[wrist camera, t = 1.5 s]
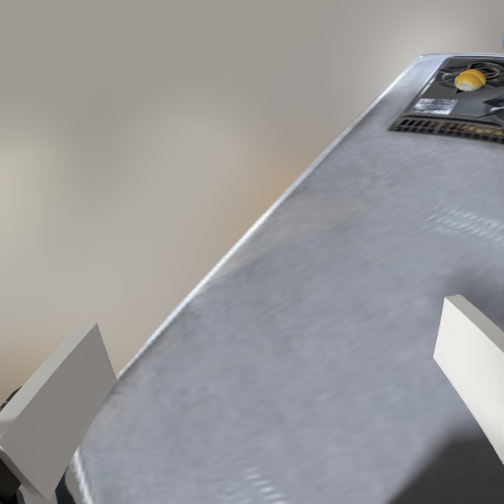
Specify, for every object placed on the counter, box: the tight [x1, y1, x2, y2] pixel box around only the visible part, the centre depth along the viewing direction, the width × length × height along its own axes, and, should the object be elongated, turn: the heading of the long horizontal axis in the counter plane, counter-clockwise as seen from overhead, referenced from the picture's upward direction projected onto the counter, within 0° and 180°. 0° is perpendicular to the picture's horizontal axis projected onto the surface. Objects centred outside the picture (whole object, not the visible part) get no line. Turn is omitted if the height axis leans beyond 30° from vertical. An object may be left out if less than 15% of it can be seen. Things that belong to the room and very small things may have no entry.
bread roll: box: [455, 69, 486, 91], centre depth 54 cm, size 8×9×4 cm
